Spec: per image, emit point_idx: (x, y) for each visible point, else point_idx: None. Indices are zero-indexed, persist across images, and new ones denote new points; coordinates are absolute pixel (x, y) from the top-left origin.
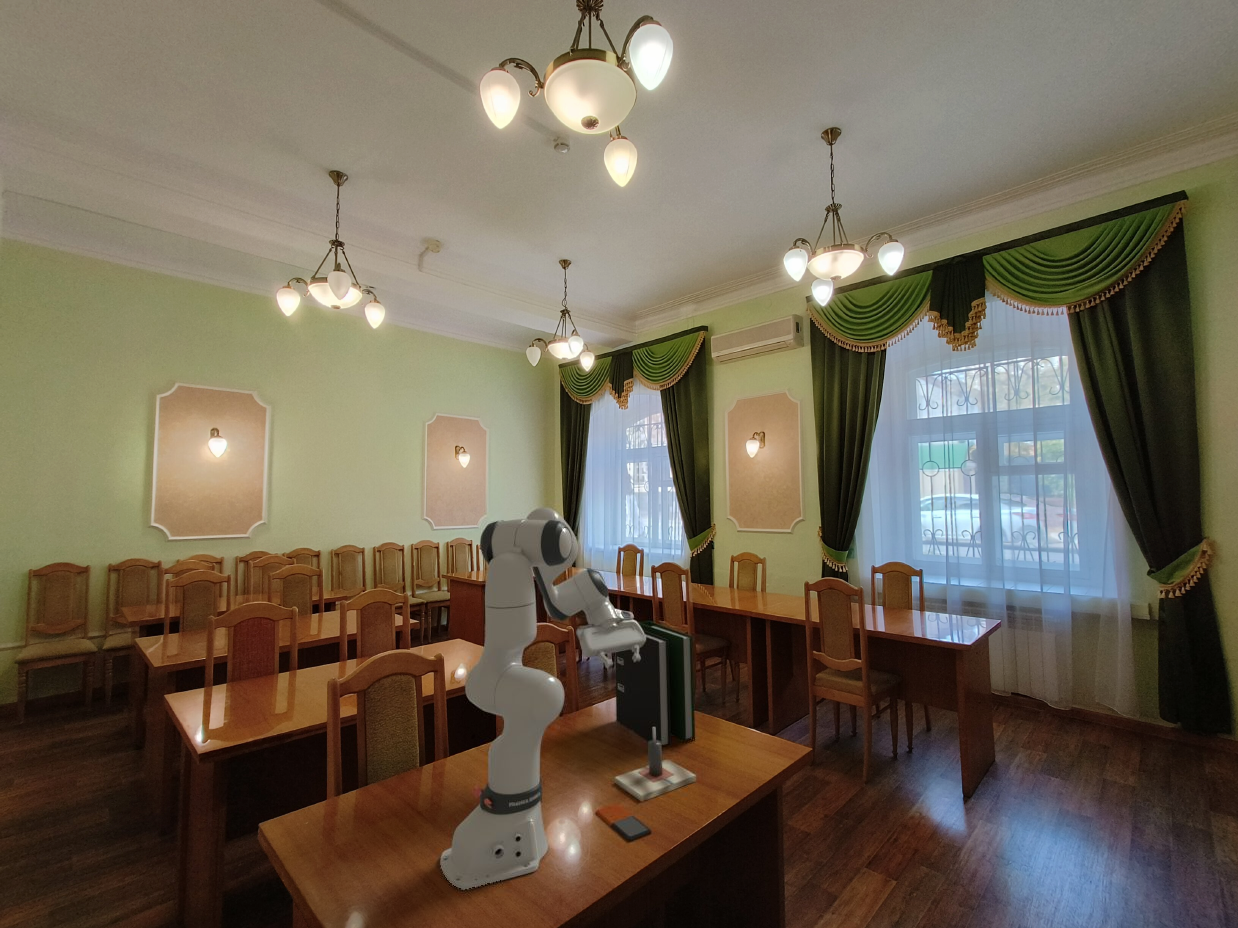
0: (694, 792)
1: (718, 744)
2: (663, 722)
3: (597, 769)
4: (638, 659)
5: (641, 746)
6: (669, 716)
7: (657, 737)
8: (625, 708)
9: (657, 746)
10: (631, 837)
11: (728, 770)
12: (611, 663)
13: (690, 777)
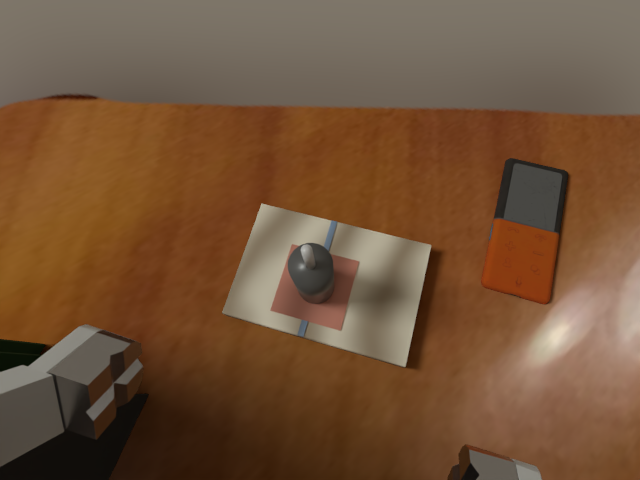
0: (313, 184)
1: (42, 274)
2: None
3: (376, 473)
4: (117, 336)
5: (159, 464)
6: None
7: (123, 415)
8: None
9: (321, 246)
10: (560, 170)
11: (174, 180)
12: (492, 456)
13: (278, 208)
